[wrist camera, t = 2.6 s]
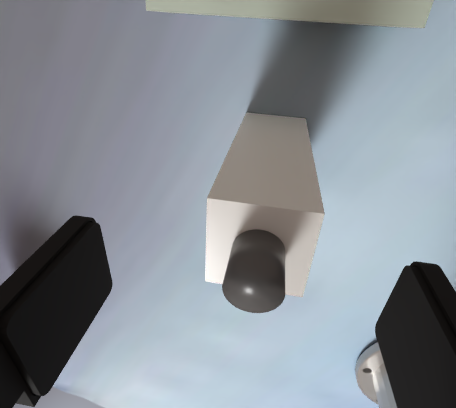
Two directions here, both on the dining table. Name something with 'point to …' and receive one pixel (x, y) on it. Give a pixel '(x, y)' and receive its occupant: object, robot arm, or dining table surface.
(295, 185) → the plug
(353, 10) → the socket block
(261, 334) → the dining table surface
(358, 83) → the dining table surface
